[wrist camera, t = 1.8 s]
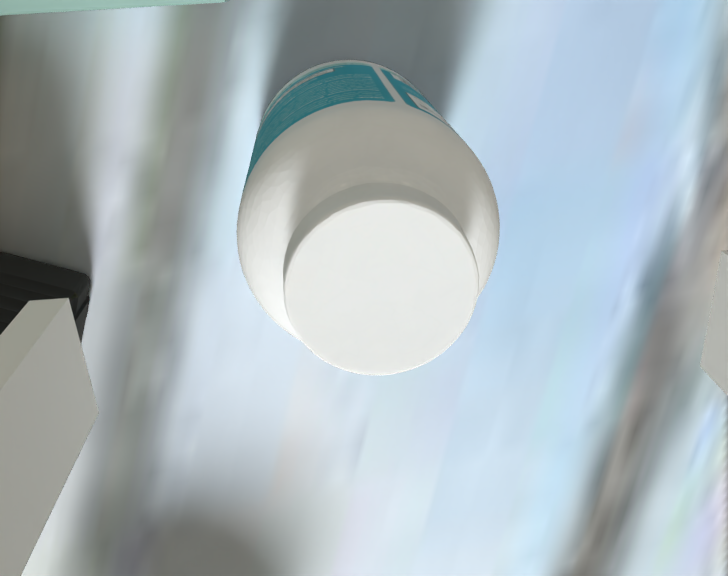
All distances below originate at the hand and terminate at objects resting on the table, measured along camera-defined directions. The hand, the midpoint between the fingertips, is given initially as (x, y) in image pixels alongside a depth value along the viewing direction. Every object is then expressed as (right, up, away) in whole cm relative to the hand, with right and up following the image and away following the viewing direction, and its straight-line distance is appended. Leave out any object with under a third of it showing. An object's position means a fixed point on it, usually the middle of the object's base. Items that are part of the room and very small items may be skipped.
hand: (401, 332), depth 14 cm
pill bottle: (-1, +7, +14) cm, 16 cm away
